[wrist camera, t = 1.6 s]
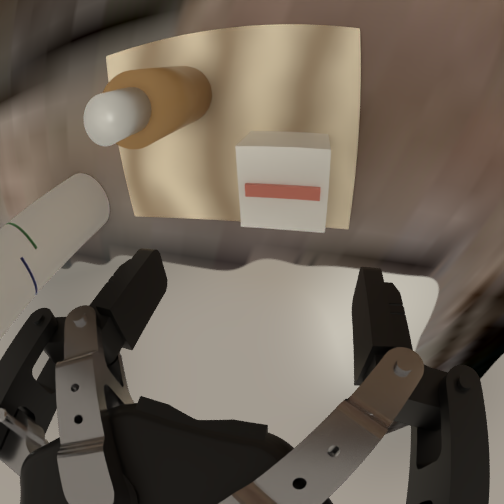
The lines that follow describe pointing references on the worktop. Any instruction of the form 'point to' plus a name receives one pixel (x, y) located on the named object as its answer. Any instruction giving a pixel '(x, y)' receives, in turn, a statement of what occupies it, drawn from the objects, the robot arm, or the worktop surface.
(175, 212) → the board
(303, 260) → the worktop surface
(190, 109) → the bottle
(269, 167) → the white minus sign cube
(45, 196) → the cylindrical container
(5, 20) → the worktop surface
